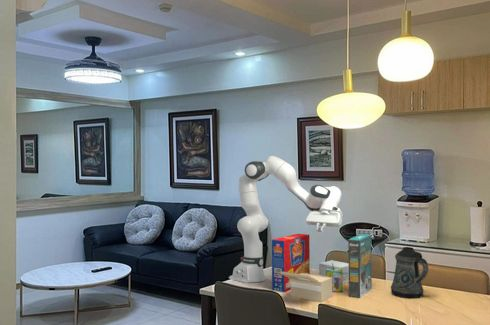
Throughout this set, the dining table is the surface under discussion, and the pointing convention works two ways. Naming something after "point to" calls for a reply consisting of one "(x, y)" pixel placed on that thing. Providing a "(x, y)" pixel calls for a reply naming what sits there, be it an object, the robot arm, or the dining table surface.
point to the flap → (299, 277)
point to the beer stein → (408, 274)
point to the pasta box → (289, 259)
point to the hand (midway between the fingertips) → (319, 230)
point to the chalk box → (335, 278)
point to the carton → (312, 288)
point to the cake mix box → (359, 265)
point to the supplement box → (336, 265)
